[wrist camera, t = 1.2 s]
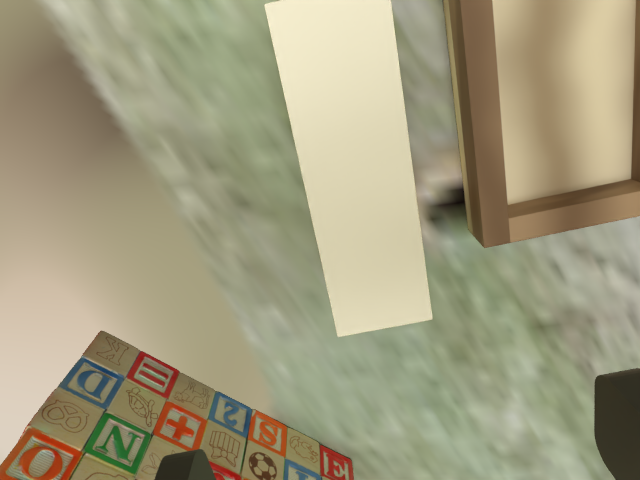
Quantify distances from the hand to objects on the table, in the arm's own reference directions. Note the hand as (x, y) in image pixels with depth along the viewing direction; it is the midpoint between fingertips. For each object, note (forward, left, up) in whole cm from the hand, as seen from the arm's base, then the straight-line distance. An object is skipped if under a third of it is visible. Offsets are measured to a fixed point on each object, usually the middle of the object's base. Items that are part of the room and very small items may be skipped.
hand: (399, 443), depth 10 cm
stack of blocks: (+13, +16, -21) cm, 30 cm away
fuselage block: (-1, -2, -21) cm, 21 cm away
